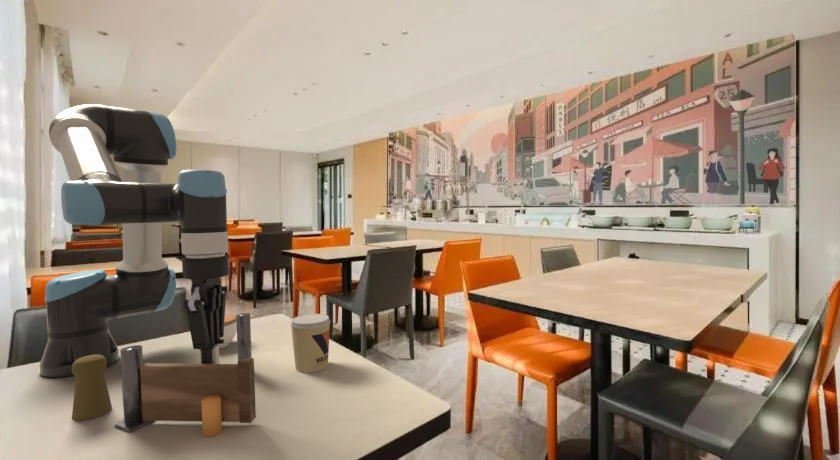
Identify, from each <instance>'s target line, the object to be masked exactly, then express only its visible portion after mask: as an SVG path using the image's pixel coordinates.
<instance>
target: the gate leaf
mask: <svg viewBox="0 0 840 460" xmlns="http://www.w3.org/2000/svg"><path fill="white" fill-rule="evenodd" d="M254 359H255V358H254V357H252V358H242V359H241V360H240V361H238V360H237V363H219V364H201V363H164V362H162V363H159V362H158V363H152V362H151V363H150V362H146V363H143V365H142V366H140V375H141V394H142V413H143V421H153V422H155V421H156V422H202V404H201V400H202V399H203V398H205V397H207V396H211V395H220V396H221V415H222V423H224V422H225V423H226V422H227V423H239V424H252V422H253V421H254V420H255V418H257V416H256V415H257V413H256V409H257V408H256V386H255V381H256V380H255V360H254Z"/></svg>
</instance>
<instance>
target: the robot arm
mask: <svg viewBox="0 0 840 460" xmlns="http://www.w3.org/2000/svg"><path fill="white" fill-rule="evenodd" d="M171 122H172V121H170V119H169V117H167V116H166V115H164V114H162V113H158V112H152V111H148V110H141V109H139V110H138V109H133V108H126V107H125V108H124V107H116V106H111V105H110V106H107V105H103V104H96V103H95V104H93V103H92V104H88V103H87V104H82V105H81V104H80V105H79V104H78V105H76V106H73V107H70V108H67V109H65V110H63V111H62V112H60V113H59V114H57V115H56V116H55V117H54V118H53V119H52V121H51V122H50V124H49V129H48V135H49V140H50V142H51V144H52V146H53V147H54V149H55V150H56V151H57V152H59V154H61V156H62V160H63V163H64V166H65V170H66V172H67V174H68V177H69V180H67V181H64V182H63V183H62V185H61V188H60V191H61V192H60V198H61V209H62V217H63V220H64V221H65V222H66V223H68V224H69V225H83V226H84V225H87V226H88V225H89V226H94V227H95V226H98V225H99V226H101V225H120V224H121V225H122V255H123V256H122V260H121V261H120V262H119V263H118V264H116V267H115V268H116V269H115V273H110V274H109V273H107V272H106V270H105V269H103V268H101V269H100V268H99V269H98V268H97V269H92V270H90V269H89V270H83V271H78V272H72V273H69V274H64V275H61V276H58V277H57V276H56V277H55V278H52V279H50V280H49V281H48V282H47V283H46V285H45V287H44V288H45V289H44V290H45V297H44V300H43V301H44V302H45V306H46V327H47V328H46V329H47V343H46V346H45V349H44V351H43V355H42V357H41V360H40V363H39V371H40V372H39V374H40V375H41V376H42V377H46V378H47V377H48V378H61V377H63V378H64V377H70V376H71V377H72V376H74V375H73V373H72V365H73V363H74V361H76V360H77V359H79V358H81V357H84V356H88V355H103V356H104V357H105V358H106V360H107V365H106V367H108V366H110V365H113V364H115V363H116V362H117V361H118V360H119V359H120V355H119V353H120V352H119V351H120V350H119V348H118V346H117V344H116V342H115V339H114V338H113V336H112V334H111V332H110V329H109V326H110V325H109V320H112V319H118V318H124V317H131V316H137V315H143V314H144V315H145V314H152V313H153V314H154V313H155V312H158V311H163V310H166V309H169V307H170V306H171V305H172V304H173V302H174V300H175V296H176V291H177V280H176V272H175V271H174V269H173V268H171V267H169V263H168V261H166V260H165V259H163V258H162V252H163V249H162V246H163V245H162V234H163V233H162V223H163V224H164V223H180V236H181V237H180V238H179V242H180V243H181V254H182V255H183V256H185V257H183V258H182V259H181V264H182V265H181V267H182V269H181V270H182V276H183V278H184V279H187V280H190V281H191V288H190V296H191V297H190V299H184V301H183V307H184V309H185V312H186V315H187V321H188V325H189V332H190V337H191V343H192V347H193V349H194V350H199V353H200V364H220V348H219V345H218V344H223V343H224V339H221V340H220V337H223V336H224V319H225V314H226V302H227V300H226V299H227V293H228V286H227V285H222V279H221V278H223V277H226V276H227V275H229V272H230V268H229V267H230V266H229V265H230V264H229V256H228V255H226V253H227V252H229V235H228V220H227V219H228V218H227V193H228V191H227V187H226V186H227V185H226V180H225V179H226V178H225V174H223V172H221V171H219V170H218V171H217V170H212V169H211V170H209V169H183V170H181V171H180V172H179V173H178V178H177V179H178V181H177V183H167V182H165V183H163V182H162V172H163V171H164V170H165V169H166V168H167V167H168V166H169V160H173V159H174V158H175V157H176V154H177V138H176V133H175V130H174V126H173V124H172V123H171ZM111 155H112V156H113V159H112V157H111ZM116 166H117V167H119V169H120V171H121V175H120V174H119V171H118V169H117V167H116Z"/></svg>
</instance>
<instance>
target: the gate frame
mask: <svg viewBox="0 0 840 460" xmlns="http://www.w3.org/2000/svg"><path fill="white" fill-rule="evenodd" d="M236 323H237V330H236V346H237V348H236V349H237V362H238V361H240V360H241V359H242V358H253V357H252V356H253V355H252V335H251V334H252V333H251V332H252V331H251V328H252V327H251V326H252V325H251V313H249V312H244V313H238V314H236ZM119 351H120V352H119V353H120V367H121V372H120V373H121V386H122V387H121V388H122V389H121V390H122V405H123V420H121V421H120V420H119V421H117V422H116V423H114V428H117V429H119V430H122V431H124V432H127V433H132V432H134V431H136V430H138V429H140V428H143V427H145V426H147V425H148V424H151V423H153V422H154V421H143V413H142V394H141V375H140V366H142V365H144V358H143V357H144V355H143V346H142V345H139V344H138V345H130V346H126V347H123V348H121V349H120V350H119Z"/></svg>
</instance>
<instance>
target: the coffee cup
mask: <svg viewBox="0 0 840 460" xmlns="http://www.w3.org/2000/svg"><path fill="white" fill-rule="evenodd" d="M330 324H331V319H330V317H329V315H326V314H323V313H307V314H301V315H299V316H295V317H294V318H292V320H291V322H290V327H291V338H292V347H293V359H294V366H295V370H296V371H297V372H300V373H305V374H308V373H317V372H321V371H323V370H325V369H326V368H327V367H328V365H329V353H330V352H329V351H330V328H331V327H330Z"/></svg>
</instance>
